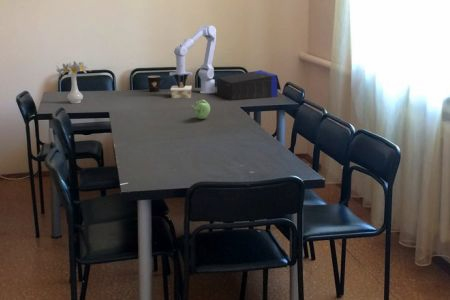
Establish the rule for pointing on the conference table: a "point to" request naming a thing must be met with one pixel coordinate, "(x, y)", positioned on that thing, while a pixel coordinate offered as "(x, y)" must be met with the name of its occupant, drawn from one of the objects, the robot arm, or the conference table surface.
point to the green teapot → (202, 109)
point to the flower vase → (73, 80)
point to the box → (181, 94)
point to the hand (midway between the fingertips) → (181, 86)
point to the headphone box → (248, 86)
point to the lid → (181, 87)
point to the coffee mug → (154, 83)
